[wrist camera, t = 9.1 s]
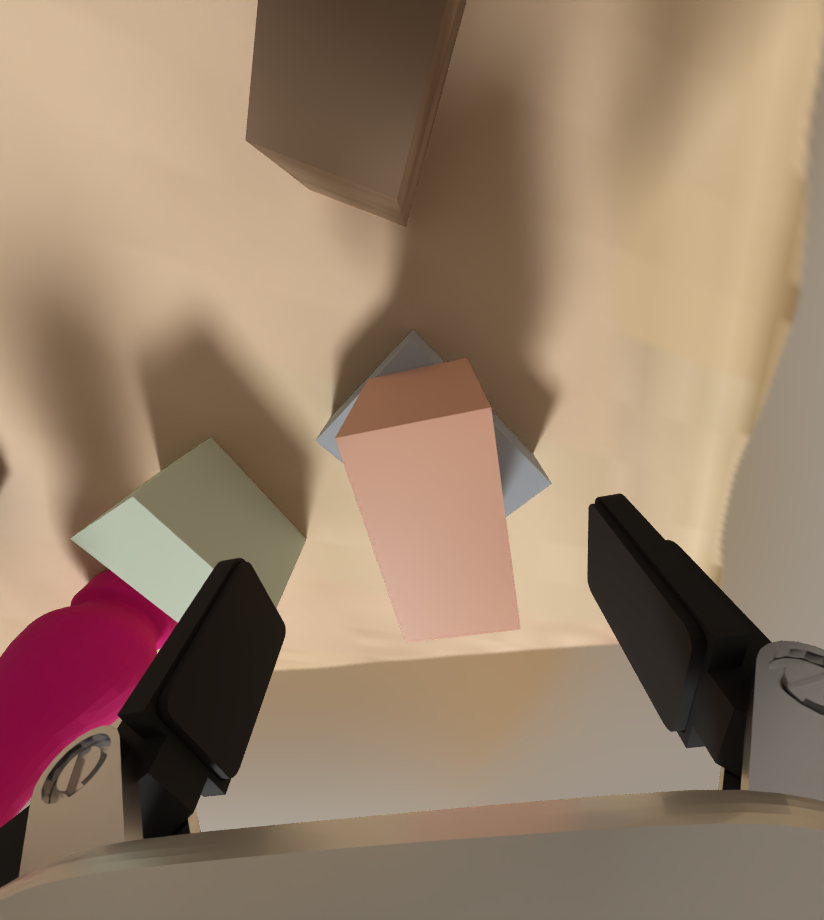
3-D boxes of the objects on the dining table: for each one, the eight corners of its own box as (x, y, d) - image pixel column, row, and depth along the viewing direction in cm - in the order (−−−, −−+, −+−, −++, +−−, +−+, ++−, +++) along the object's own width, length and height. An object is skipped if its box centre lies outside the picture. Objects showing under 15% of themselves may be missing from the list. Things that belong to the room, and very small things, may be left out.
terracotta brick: (368, 378, 15) (334, 438, 9) (466, 357, 14) (491, 407, 9) (411, 534, 18) (405, 642, 13) (492, 522, 18) (520, 629, 12)
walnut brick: (359, -117, 11) (302, -484, 6) (481, -57, 12) (534, -347, 6) (310, 190, 15) (245, 140, 9) (405, 226, 15) (396, 199, 10)
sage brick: (161, 470, 21) (69, 538, 15) (211, 436, 20) (132, 496, 14) (258, 563, 24) (210, 648, 18) (306, 538, 22) (270, 620, 17)
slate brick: (333, 413, 19) (315, 440, 16) (413, 327, 17) (410, 339, 14) (450, 514, 22) (454, 554, 19) (531, 450, 20) (551, 483, 17)
